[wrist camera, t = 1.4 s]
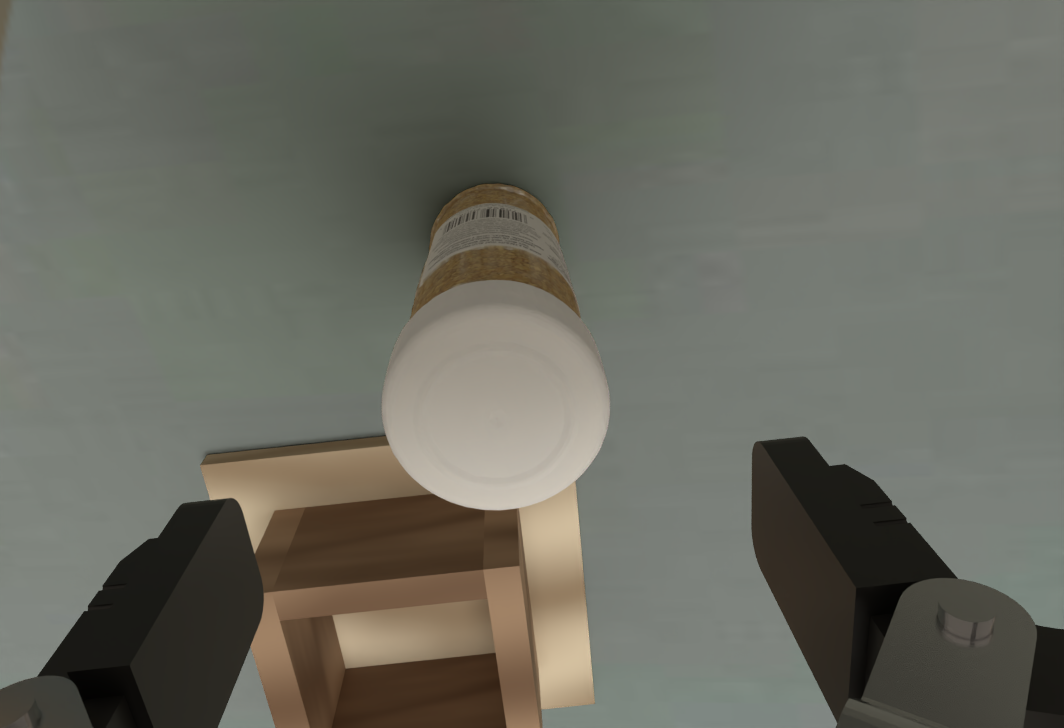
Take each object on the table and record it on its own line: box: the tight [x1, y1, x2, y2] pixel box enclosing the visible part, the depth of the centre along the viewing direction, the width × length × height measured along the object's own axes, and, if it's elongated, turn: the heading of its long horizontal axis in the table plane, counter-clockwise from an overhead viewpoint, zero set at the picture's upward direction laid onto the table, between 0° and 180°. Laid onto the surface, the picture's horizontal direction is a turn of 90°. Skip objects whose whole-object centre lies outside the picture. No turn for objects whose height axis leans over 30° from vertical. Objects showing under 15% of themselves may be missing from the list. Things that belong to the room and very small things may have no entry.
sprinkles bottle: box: [382, 184, 610, 510], centre depth 21 cm, size 5×5×14 cm
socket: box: [200, 436, 595, 728], centre depth 30 cm, size 14×14×6 cm
